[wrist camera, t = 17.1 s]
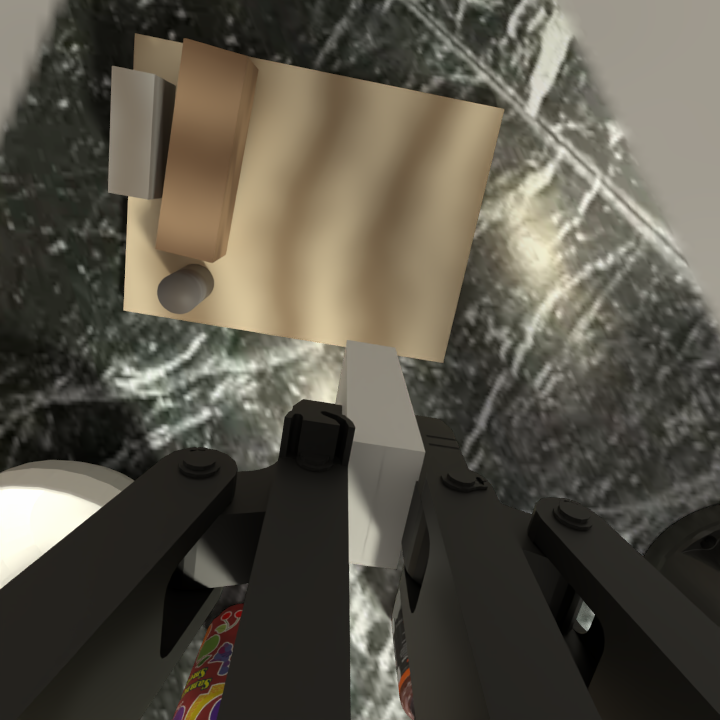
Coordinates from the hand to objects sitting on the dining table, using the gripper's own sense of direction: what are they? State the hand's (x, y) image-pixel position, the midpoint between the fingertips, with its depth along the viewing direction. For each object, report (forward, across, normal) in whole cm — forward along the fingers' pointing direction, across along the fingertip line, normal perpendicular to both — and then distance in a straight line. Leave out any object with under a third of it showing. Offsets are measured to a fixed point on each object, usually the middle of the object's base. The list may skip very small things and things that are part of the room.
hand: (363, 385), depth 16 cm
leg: (+23, -10, +5) cm, 26 cm away
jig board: (+24, -4, +3) cm, 25 cm away
